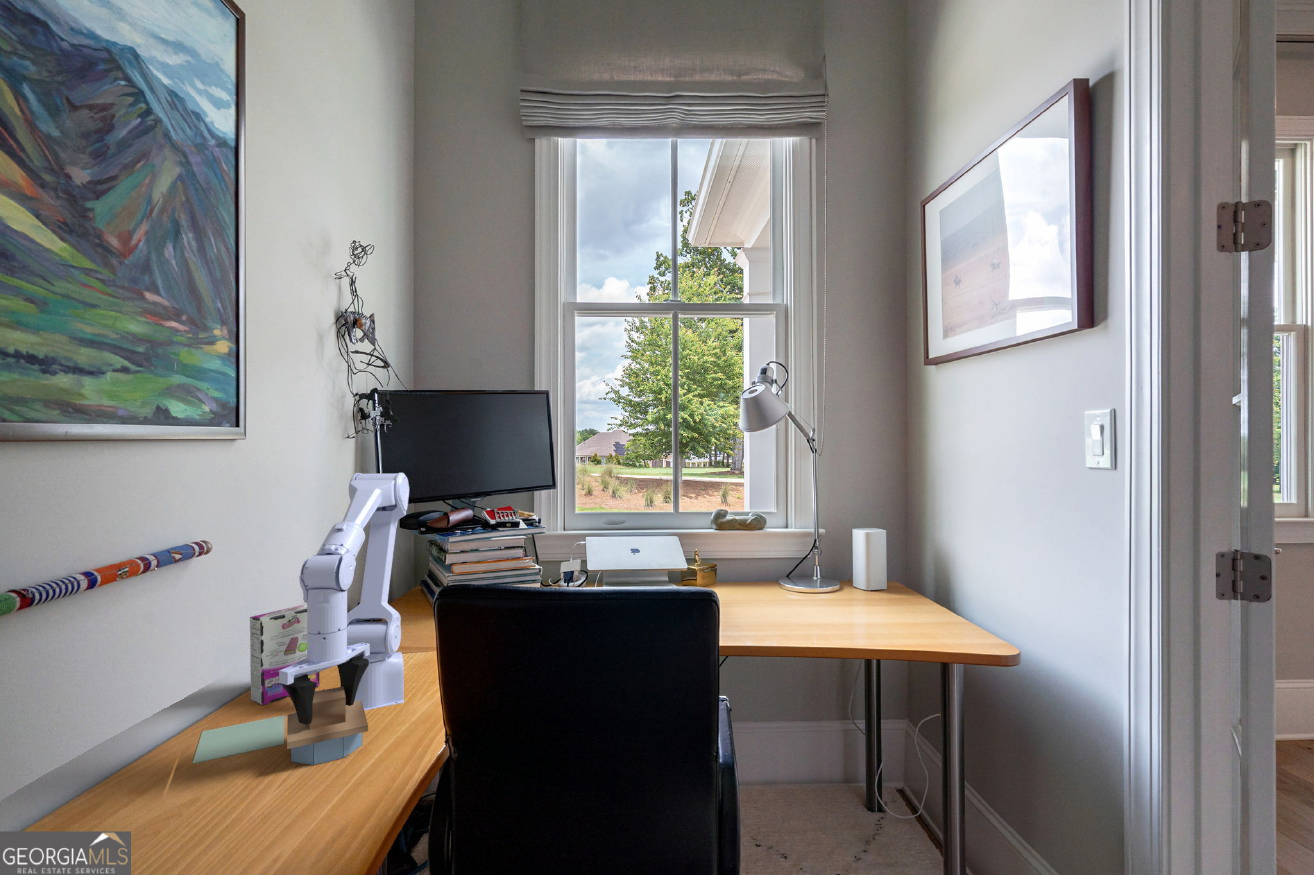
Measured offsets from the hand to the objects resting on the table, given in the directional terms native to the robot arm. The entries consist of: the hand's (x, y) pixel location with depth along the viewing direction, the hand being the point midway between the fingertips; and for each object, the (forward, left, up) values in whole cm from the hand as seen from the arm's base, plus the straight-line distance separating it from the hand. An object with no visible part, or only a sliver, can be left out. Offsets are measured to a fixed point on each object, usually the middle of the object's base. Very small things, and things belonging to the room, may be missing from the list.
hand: (327, 713), depth 99 cm
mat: (+12, -11, -6) cm, 17 cm away
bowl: (0, 0, -6) cm, 6 cm away
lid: (0, 0, -2) cm, 2 cm away
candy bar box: (+6, -30, -6) cm, 31 cm away
